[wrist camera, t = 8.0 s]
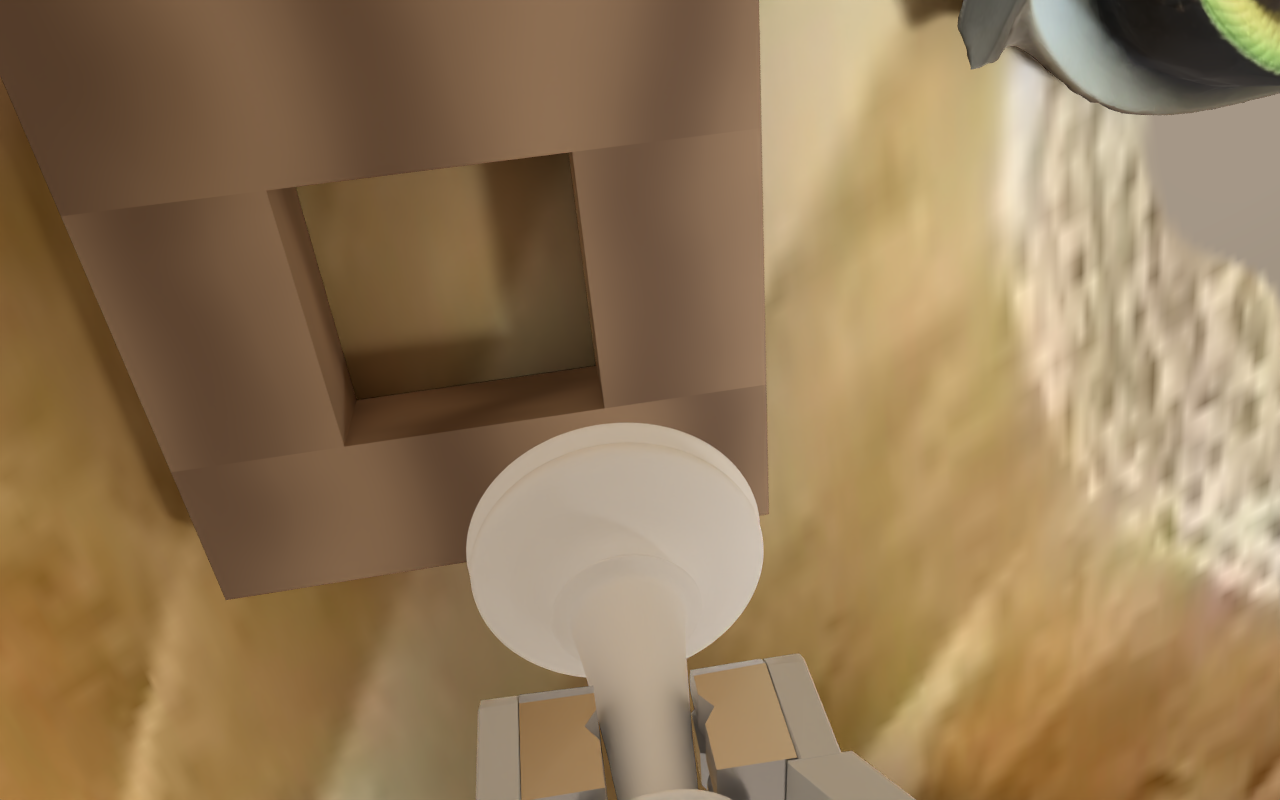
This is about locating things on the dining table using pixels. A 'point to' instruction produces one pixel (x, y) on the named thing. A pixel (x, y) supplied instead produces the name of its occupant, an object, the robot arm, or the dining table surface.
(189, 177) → the socket block
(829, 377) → the dining table surface
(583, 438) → the chess piece
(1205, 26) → the avocado toast plate
